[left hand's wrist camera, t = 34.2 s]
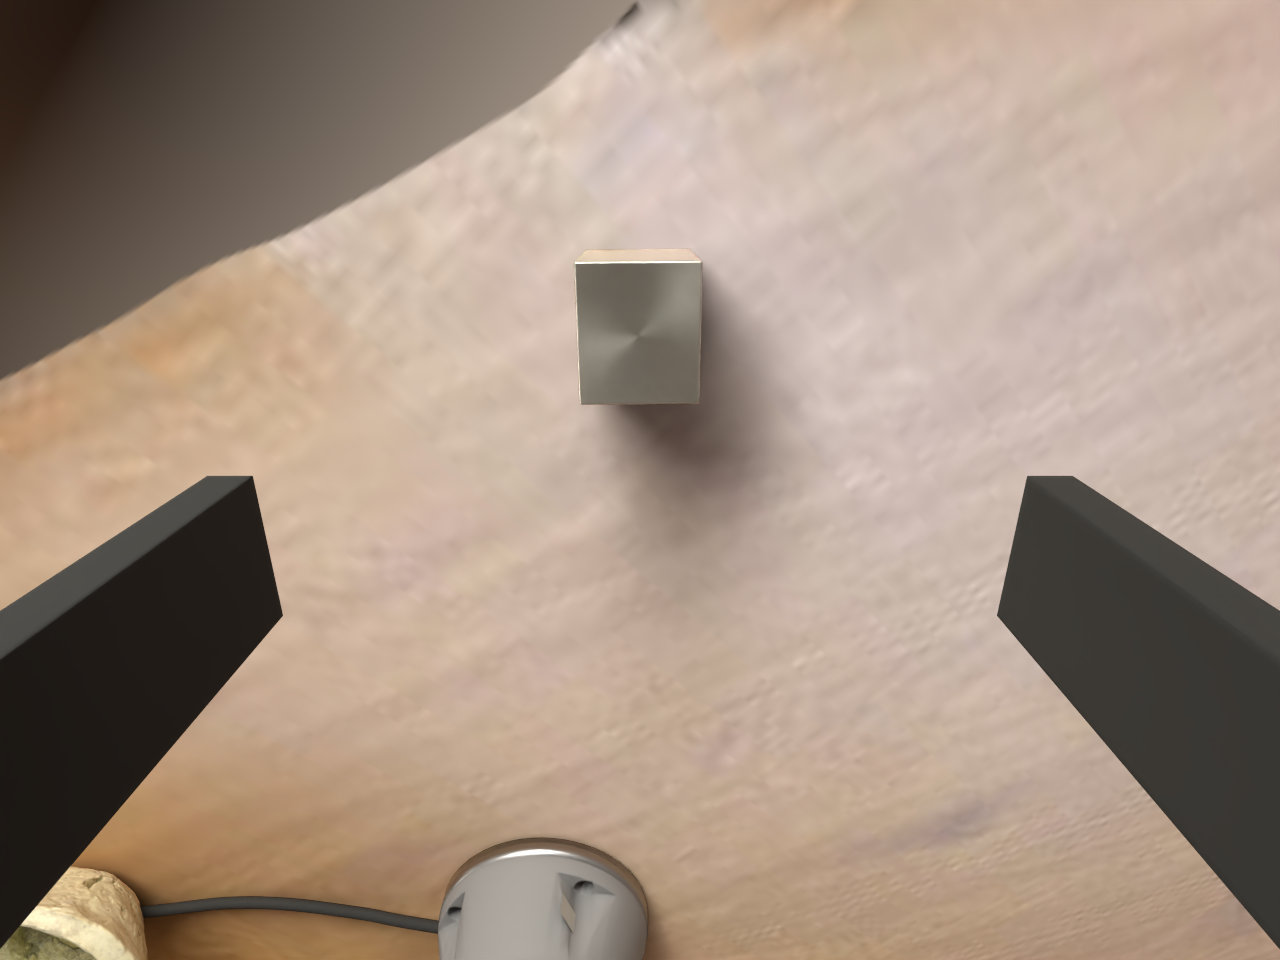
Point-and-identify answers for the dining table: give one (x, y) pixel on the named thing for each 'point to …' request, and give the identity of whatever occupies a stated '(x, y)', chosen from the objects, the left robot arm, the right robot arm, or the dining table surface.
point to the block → (638, 326)
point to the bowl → (82, 922)
